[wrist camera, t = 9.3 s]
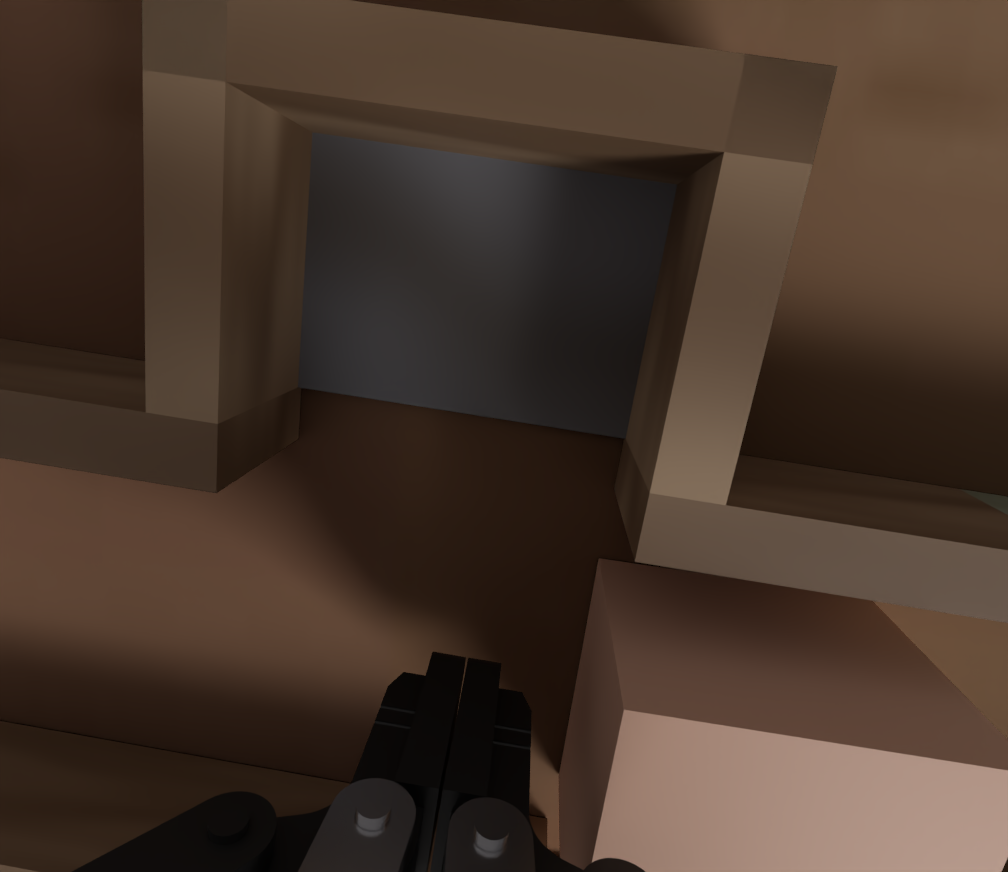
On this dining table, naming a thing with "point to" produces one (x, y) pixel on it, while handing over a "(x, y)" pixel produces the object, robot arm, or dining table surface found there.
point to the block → (770, 736)
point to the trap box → (460, 317)
